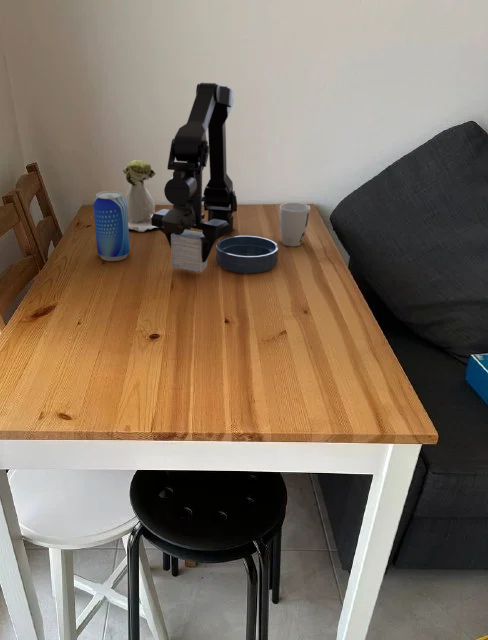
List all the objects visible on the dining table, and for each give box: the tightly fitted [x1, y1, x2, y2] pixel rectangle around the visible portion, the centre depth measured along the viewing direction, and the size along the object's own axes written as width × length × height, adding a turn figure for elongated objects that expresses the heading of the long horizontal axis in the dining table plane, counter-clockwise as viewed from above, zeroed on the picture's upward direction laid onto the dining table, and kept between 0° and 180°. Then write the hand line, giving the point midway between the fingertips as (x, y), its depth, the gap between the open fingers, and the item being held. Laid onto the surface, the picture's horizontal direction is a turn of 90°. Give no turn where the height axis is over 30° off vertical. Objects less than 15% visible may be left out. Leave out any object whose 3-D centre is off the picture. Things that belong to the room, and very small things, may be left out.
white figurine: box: [122, 159, 158, 233], centre depth 172 cm, size 12×13×18 cm
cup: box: [279, 202, 311, 247], centre depth 161 cm, size 8×8×10 cm
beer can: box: [92, 190, 131, 262], centre depth 151 cm, size 8×8×16 cm
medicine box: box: [170, 229, 208, 273], centre depth 143 cm, size 8×4×9 cm, turn 65°
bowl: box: [215, 235, 280, 274], centre depth 150 cm, size 16×16×4 cm
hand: (189, 258), depth 144 cm, fingers closed on medicine box, 8 cm apart
